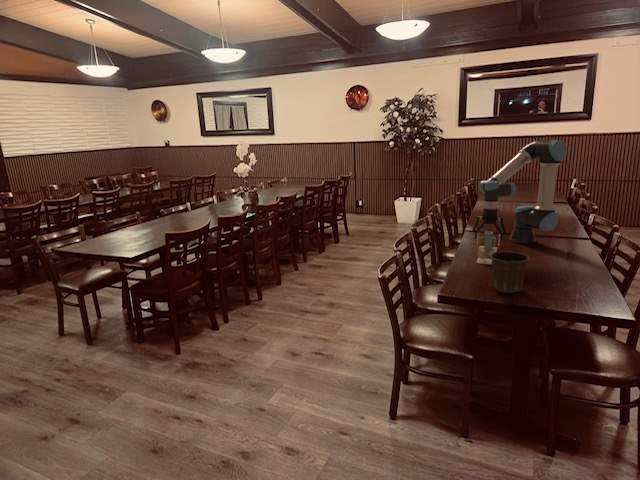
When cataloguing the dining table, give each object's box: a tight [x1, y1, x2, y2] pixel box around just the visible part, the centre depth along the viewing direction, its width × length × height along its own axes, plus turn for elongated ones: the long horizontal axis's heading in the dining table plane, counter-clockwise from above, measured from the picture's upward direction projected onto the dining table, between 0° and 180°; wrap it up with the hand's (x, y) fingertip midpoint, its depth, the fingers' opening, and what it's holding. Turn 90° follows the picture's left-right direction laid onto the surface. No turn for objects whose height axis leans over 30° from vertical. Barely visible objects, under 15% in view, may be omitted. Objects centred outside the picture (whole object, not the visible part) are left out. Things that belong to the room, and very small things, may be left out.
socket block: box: [477, 245, 498, 259], centre depth 247 cm, size 10×10×4 cm
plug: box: [484, 230, 494, 250], centre depth 246 cm, size 4×4×14 cm
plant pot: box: [490, 251, 530, 294], centre depth 195 cm, size 16×16×16 cm
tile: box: [476, 257, 493, 266], centre depth 236 cm, size 9×9×1 cm
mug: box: [479, 235, 497, 247], centre depth 257 cm, size 12×10×10 cm
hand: (488, 244), depth 246 cm, fingers open, 11 cm apart
